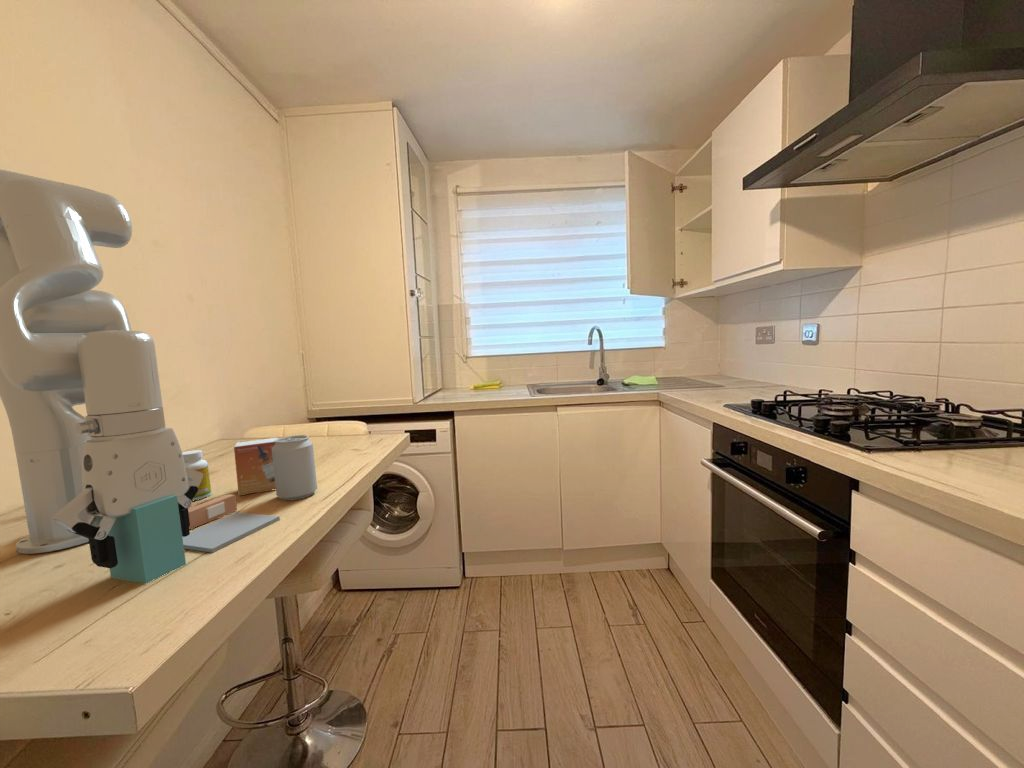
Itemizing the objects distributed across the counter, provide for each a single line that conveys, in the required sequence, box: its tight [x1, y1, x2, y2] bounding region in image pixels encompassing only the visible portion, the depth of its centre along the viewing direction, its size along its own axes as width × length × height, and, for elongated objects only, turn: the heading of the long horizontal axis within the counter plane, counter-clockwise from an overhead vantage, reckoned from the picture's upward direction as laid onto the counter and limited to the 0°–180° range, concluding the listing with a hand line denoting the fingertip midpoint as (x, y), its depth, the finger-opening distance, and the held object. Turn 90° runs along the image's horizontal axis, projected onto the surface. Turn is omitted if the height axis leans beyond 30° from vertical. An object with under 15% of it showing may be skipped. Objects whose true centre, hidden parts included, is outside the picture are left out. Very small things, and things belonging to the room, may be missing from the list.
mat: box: [182, 511, 281, 554], centre depth 70 cm, size 10×12×1 cm
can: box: [272, 434, 318, 501], centre depth 86 cm, size 8×8×12 cm
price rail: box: [188, 493, 238, 531], centre depth 73 cm, size 2×16×3 cm, turn 162°
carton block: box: [108, 495, 187, 584], centre depth 58 cm, size 7×5×10 cm
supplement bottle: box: [182, 449, 212, 502], centre depth 89 cm, size 5×5×10 cm
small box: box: [233, 436, 279, 496], centre depth 92 cm, size 8×6×10 cm
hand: (146, 549), depth 58 cm, fingers open, 8 cm apart
